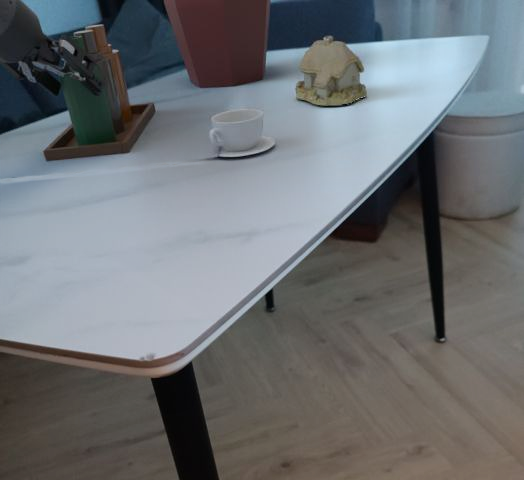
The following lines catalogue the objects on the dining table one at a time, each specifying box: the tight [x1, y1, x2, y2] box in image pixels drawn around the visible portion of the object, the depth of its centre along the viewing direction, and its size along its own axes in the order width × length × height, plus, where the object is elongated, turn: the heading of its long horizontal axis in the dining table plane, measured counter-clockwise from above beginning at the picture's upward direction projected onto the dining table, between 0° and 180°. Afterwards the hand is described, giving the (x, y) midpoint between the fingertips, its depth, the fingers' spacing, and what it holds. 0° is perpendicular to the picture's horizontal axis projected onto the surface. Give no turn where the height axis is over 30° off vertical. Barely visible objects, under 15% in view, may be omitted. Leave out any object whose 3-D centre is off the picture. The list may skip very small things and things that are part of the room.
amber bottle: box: [84, 24, 133, 123], centre depth 101 cm, size 6×6×15 cm
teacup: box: [208, 108, 276, 158], centre depth 85 cm, size 10×10×5 cm
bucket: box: [163, 0, 271, 89], centre depth 124 cm, size 24×22×25 cm
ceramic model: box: [294, 35, 367, 106], centre depth 104 cm, size 14×11×10 cm
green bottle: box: [58, 35, 117, 146], centre depth 90 cm, size 6×6×15 cm
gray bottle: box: [73, 29, 126, 134], centre depth 95 cm, size 6×6×15 cm
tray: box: [42, 102, 156, 162], centre depth 99 cm, size 13×26×2 cm, turn 0°
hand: (78, 90), depth 88 cm, fingers open, 8 cm apart
